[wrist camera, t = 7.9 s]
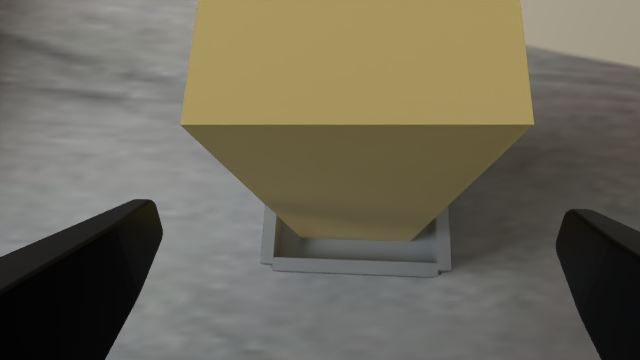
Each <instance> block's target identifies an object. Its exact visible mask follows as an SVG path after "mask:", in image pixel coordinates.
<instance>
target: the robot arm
mask: <svg viewBox="0 0 640 360" xmlns="http://www.w3.org/2000/svg"><path fill="white" fill-rule="evenodd" d="M162 236H163V229H162V225H161V222H160V218H159V214H158V211H157V207H156V204H155V203H154V202H153V201H152V200H149V199H135V200H132V201H129V202H127V203H125V204H122V205H120V206H118V207H115V208H113V209H111V210H108V211H106V212H104V213H101V214H99V215H97V216H95V217H92V218H90V219H88V220H85V221H83V222H81V223H78V224H76V225H74V226H71V227H69V228H67V229H64V230H62V231H60V232H57V233H55V234H53V235H51V236H48V237H46V238H44V239H41V240H39V241H37V242H34V243H32V244H30V245H27V246H25V247H23V248H20V249H18V250H16V251H13V252H11V253H9V254H7V255H4V256H2V257H0V360H105V359H106V357H107V355H108V353H109V351H110V349H111V347H112V345H113V344H114V342H115V340H116V338H117V336H118V334H119V332H120V330H121V329H122V327H123V325H124V323H125V321H126V319H127V317H128V315H129V314H130V312H131V310H132V308H133V306H134V304H135V302H136V300H137V298H138V296H139V294H140V292H141V290H142V287H143V285H144V282H145V280H146V278H147V275H148V273H149V270H150V268H151V265H152V263H153V260H154V258H155V255H156V253H157V250H158V248H159V245H160V243H161V240H162ZM556 252H557V255H558V258H559V260H560V263H561V266H562V269H563V271H564V274H565V277H566V280H567V282H568V285H569V288H570V291H571V293H572V296H573V299H574V302H575V305H576V307H577V310H578V312H579V315H580V317H581V319H582V321H583V323H584V325H585V328H586V330H587V332H588V334H589V336H590V338H591V340H592V342H593V344H594V346H595V348H596V350H597V352H598V354H599V356H600V358H601V360H640V232H639V231H637V230H634V229H632V228H630V227H628V226H626V225H623V224H621V223H619V222H617V221H615V220H612V219H610V218H608V217H606V216H604V215H602V214H599V213H597V212H595V211H593V210H588V209H570V210H568V211H567V212H566V213H565V215H564V218H563V221H562V224H561V227H560V231H559V234H558V237H557V240H556Z"/></svg>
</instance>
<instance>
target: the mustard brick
mask: <svg viewBox="0 0 640 360" xmlns="http://www.w3.org/2000/svg"><path fill="white" fill-rule="evenodd" d="M180 125H181V126H182V127H183V128H184V129H185V130H186V131H187V132H188V133H190V134H191V135H192V136H193V137H194V138H195V139H196V140H197V141H198V142H199V143H200V144H201V145H202V146H203V147H205V148H206V149H207V150H208V151H209V152H210V153H211V154H212V155H213V156H214V157H215V158H216V159H217V160H218V161H219V162H221V163H222V164H223V165H224V166H225V167H226V168H227V169H228V170H229V171H230V172H231V173H232V174H233V175H234V176H236V177H237V178H238V179H239V180H240V181H241V182H242V183H243V184H244V185H245V186H246V187H247V188H248V189H249V190H251V191H252V192H253V193H254V194H255V195H256V196H257V197H258V198H259V199H260V200H261V201H262V202H263V203H264V204H265V205H267V206H268V207H269V208H270V209H271V210H272V211H273V212H274V213H275V214H276V215H277V216H278V217H279V218H280V219H282V220H283V221H284V222H285V223H286V224H287V225H288V226H289V227H290V228H291V229H292V230H293V231H294V232H295V233H296V234H298V235H299V236H300V237H301V238H302V239H331V240H366V241H401V242H410V241H411V240H412V239H413V238H414V237H415V236H416V235H417V234H418V233H419V232H420V231H422V230H423V229H424V228H425V227H426V226H427V225H428V224H429V223H430V222H431V221H432V220H433V219H434V218H435V217H436V216H438V215H439V214H440V213H441V212H442V211H443V210H444V209H445V208H446V207H447V206H448V205H449V204H450V203H451V202H452V201H453V200H455V199H456V198H457V197H458V196H459V195H460V194H461V193H462V192H463V191H464V190H465V189H466V188H467V187H468V186H469V185H470V184H472V183H473V182H474V181H475V180H476V179H477V178H478V177H479V176H480V175H481V174H482V173H483V172H484V171H485V170H486V169H487V168H489V167H490V166H491V165H492V164H493V163H494V162H495V161H496V160H497V159H498V158H499V157H500V156H501V155H502V154H503V153H504V152H506V151H507V150H508V149H509V148H510V147H511V146H512V145H513V144H514V143H515V142H516V141H517V140H518V139H519V138H520V137H521V136H523V135H524V134H525V133H526V132H527V131H528V130H529V129H530V128H531V127H532V126H533V125H534V118H533V109H532V101H531V92H530V83H529V74H528V66H527V57H526V48H525V39H524V31H523V22H522V13H521V4H520V0H198V5H197V12H196V19H195V25H194V32H193V39H192V46H191V53H190V60H189V67H188V74H187V80H186V87H185V94H184V101H183V108H182V115H181V122H180Z"/></svg>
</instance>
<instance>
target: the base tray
mask: <svg viewBox="0 0 640 360" xmlns="http://www.w3.org/2000/svg"><path fill="white" fill-rule="evenodd" d="M260 263H261V264H265V265H270V268H272V270H273V271H278V272H299V273H324V274H348V275H373V276H398V277H422V278H435V277H438V275H441V272H447V271H452V269H451V247H450V225H449V205H448V206H447V207H446V208H445V209H444V210H443V211H442V212H441V213H440V214H439V215H438V216H436V217H435V218H434V219H433V220H432V221H431V222H430V223H429V224H428V225H427V226H426V227H425V228H424V229H423V230H422V231H420V232H419V233H418V234H417V235H416V236H415V237H414V238H413V239H412V240H411V241H410V242H401V241H366V240H331V239H302V238H301V237H300V236H299V235H298V234H296V233H295V232H294V231H293V230H292V229H291V228H290V227H289V226H288V225H287V224H286V223H285V222H284V221H283V220H282V219H280V218H279V217H278V216H277V215H276V214H275V213H274V212H273V211H272V210H271V209H270V208H269V207H268V206H267V205H265V210H264V223H263V235H262V247H261V259H260Z"/></svg>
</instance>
